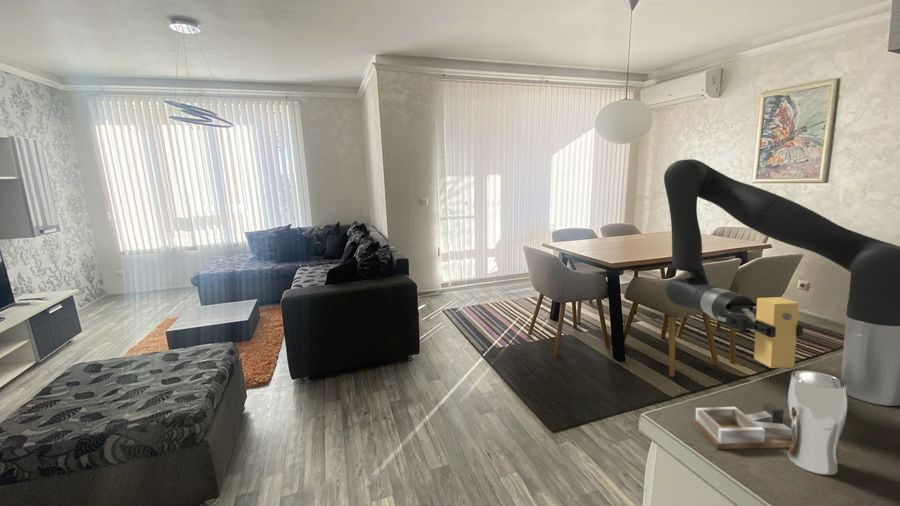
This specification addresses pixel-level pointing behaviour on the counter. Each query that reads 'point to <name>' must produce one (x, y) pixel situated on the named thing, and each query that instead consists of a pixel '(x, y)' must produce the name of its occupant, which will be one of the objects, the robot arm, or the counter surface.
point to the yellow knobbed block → (777, 332)
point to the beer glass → (816, 420)
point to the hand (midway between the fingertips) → (787, 331)
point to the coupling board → (744, 427)
